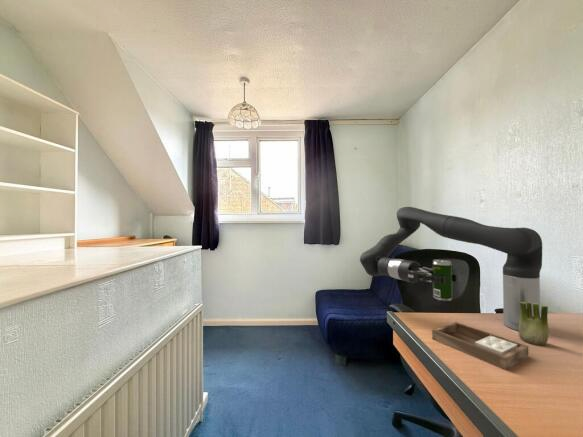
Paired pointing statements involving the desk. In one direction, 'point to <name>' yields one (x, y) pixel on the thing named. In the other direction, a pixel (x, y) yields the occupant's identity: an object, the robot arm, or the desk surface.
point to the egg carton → (496, 345)
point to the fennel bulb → (533, 324)
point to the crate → (465, 342)
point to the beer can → (445, 270)
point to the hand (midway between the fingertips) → (450, 279)
